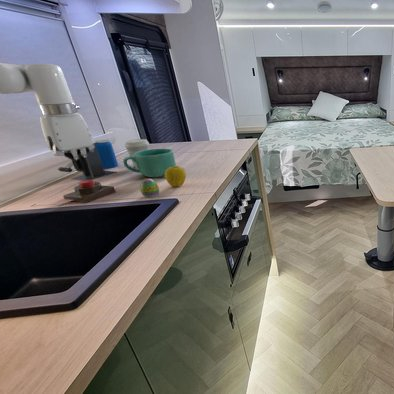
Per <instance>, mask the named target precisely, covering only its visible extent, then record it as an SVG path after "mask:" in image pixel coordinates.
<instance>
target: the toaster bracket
mask: <svg viewBox="0 0 394 394" xmlns="http://www.w3.org/2000/svg"><path fill="white" fill-rule="evenodd" d="M94 146H95V148H94V149H92V150H89V152H88V153H87V157H86V160H87V163H88V165H89V170H88V171H84V172H82V175H78V176H74V177H71V178H70V180H77V181H84V180H93V181H94V180H96V179H100V178H103V177H106V176H110V175H112V174H117V173H118V171H114V170H113V171H111V170H105V169H103V166H102V163H101V160H100V157H99V154H98V151H97V148H96V145H94ZM74 150H75V149H74Z"/></svg>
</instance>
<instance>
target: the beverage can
mask: <svg viewBox="0 0 394 394" xmlns="http://www.w3.org/2000/svg"><path fill="white" fill-rule="evenodd" d="M93 141H94V144H93V145H96V148H97V151H98V154H99V157H100V160H101V163H102V166H103V169H104V170H108V169H113V168H118V167H119V163H118V159H117V156H116V153H115V150H114V146H113V144H112V142H111V141H110V140H109V139H101V140H93Z"/></svg>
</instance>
